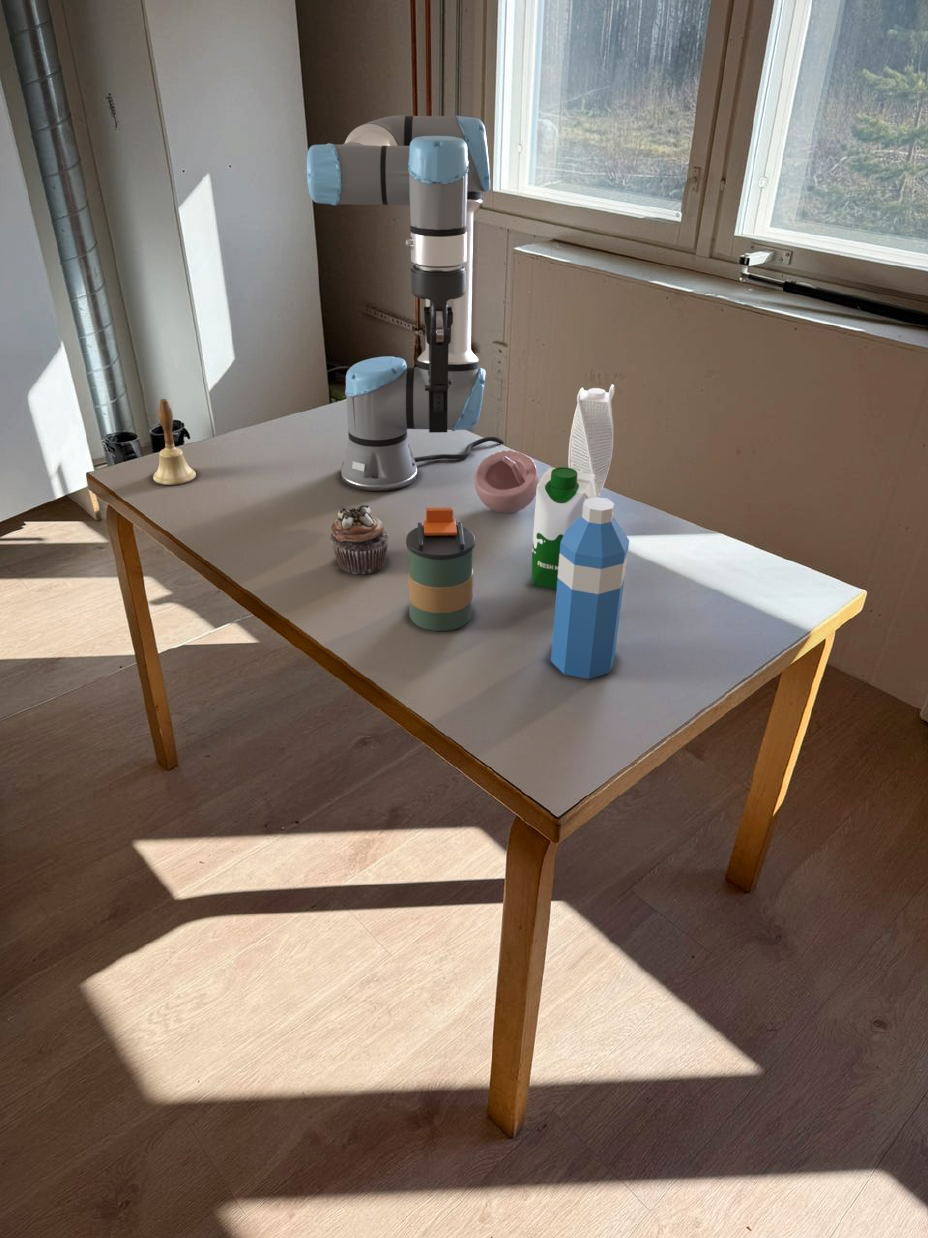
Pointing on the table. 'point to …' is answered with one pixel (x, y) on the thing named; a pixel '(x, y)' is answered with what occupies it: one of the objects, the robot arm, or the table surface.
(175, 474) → the hand bell
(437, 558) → the mug lid
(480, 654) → the table surface
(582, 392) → the skyscraper
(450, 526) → the slider
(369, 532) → the cupcake
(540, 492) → the milk carton
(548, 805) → the table surface
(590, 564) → the water bottle
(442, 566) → the travel mug
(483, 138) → the robot arm
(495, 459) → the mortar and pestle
